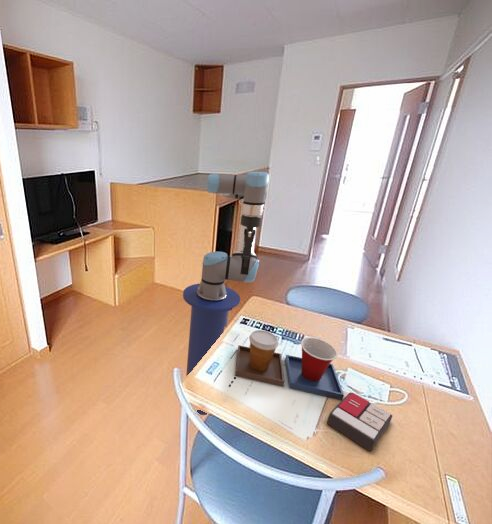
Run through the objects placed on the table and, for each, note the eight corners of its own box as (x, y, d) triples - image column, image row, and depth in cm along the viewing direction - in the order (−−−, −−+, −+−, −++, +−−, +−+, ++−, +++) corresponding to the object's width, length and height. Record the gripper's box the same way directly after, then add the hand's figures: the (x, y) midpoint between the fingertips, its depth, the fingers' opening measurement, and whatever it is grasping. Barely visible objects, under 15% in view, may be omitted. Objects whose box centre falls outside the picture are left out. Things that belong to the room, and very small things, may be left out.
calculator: (394, 413, 86) (375, 439, 77) (389, 424, 87) (370, 452, 79) (350, 389, 94) (329, 411, 85) (347, 400, 96) (326, 423, 87)
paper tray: (237, 349, 118) (238, 345, 117) (279, 358, 113) (280, 353, 113) (235, 375, 105) (236, 370, 104) (283, 386, 100) (284, 381, 99)
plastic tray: (285, 359, 113) (286, 354, 112) (331, 368, 108) (332, 363, 108) (289, 388, 100) (290, 382, 99) (342, 400, 95) (344, 394, 94)
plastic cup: (310, 390, 98) (318, 360, 93) (287, 368, 107) (293, 339, 103) (337, 384, 100) (346, 354, 96) (312, 363, 110) (319, 335, 106)
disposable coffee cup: (239, 359, 112) (244, 331, 107) (261, 354, 114) (266, 327, 110) (256, 377, 103) (261, 347, 99) (279, 371, 106) (285, 342, 102)
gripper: (263, 223, 101) (254, 281, 109) (261, 209, 123) (254, 258, 131) (240, 221, 103) (232, 278, 111) (242, 208, 125) (236, 256, 133)
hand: (244, 267), depth 121 cm, fingers open, 13 cm apart
